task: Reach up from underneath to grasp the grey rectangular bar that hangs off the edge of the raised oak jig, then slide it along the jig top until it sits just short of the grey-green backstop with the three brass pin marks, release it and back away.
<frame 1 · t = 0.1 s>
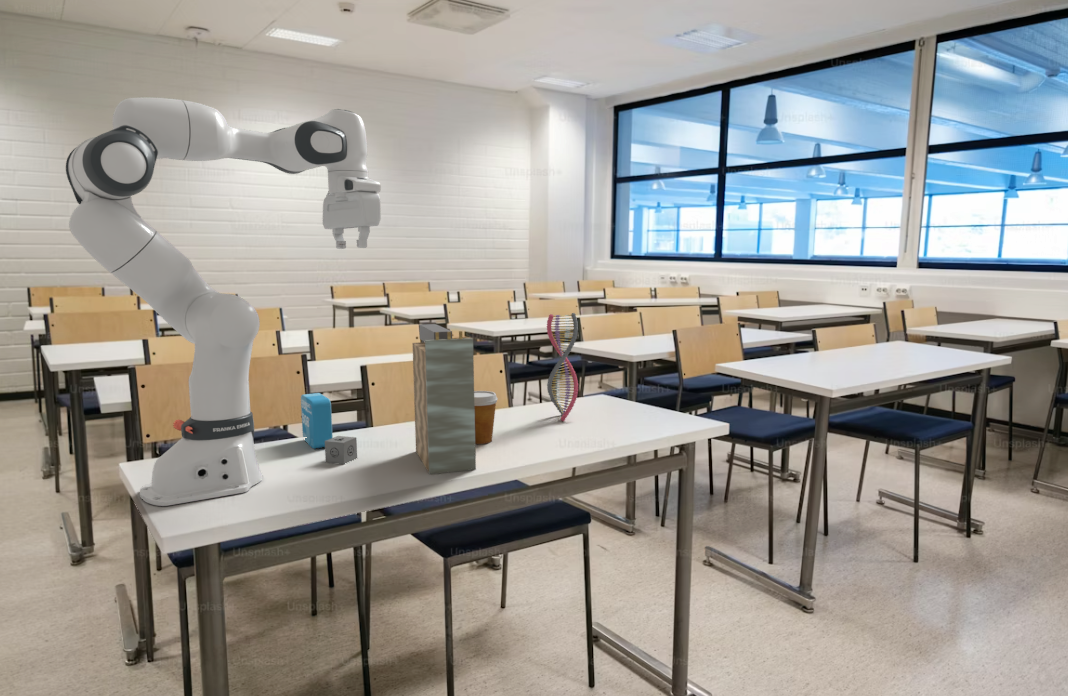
hand: (351, 248, 159), 48 cm above the table, tool pointing down, fingers open, 8 cm apart
disposable coffee cup: (479, 441, 175), on the table
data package: (317, 444, 174), on the table
dice cube: (341, 461, 159), on the table
jig: (443, 459, 159), on the table
grey rectangular bar: (435, 342, 162), point 26 cm above the table, touching jig
dna model: (562, 418, 200), on the table
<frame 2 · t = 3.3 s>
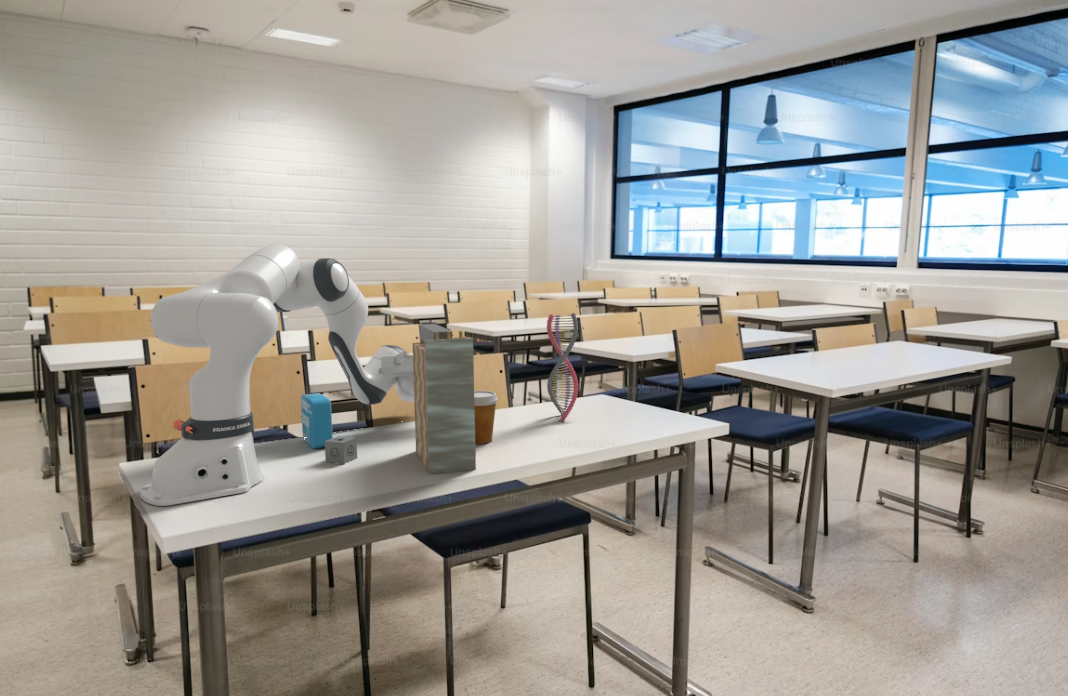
hand: (422, 352, 181), 21 cm above the table, tool pointing upward, fingers open, 8 cm apart
nothing on the table moved.
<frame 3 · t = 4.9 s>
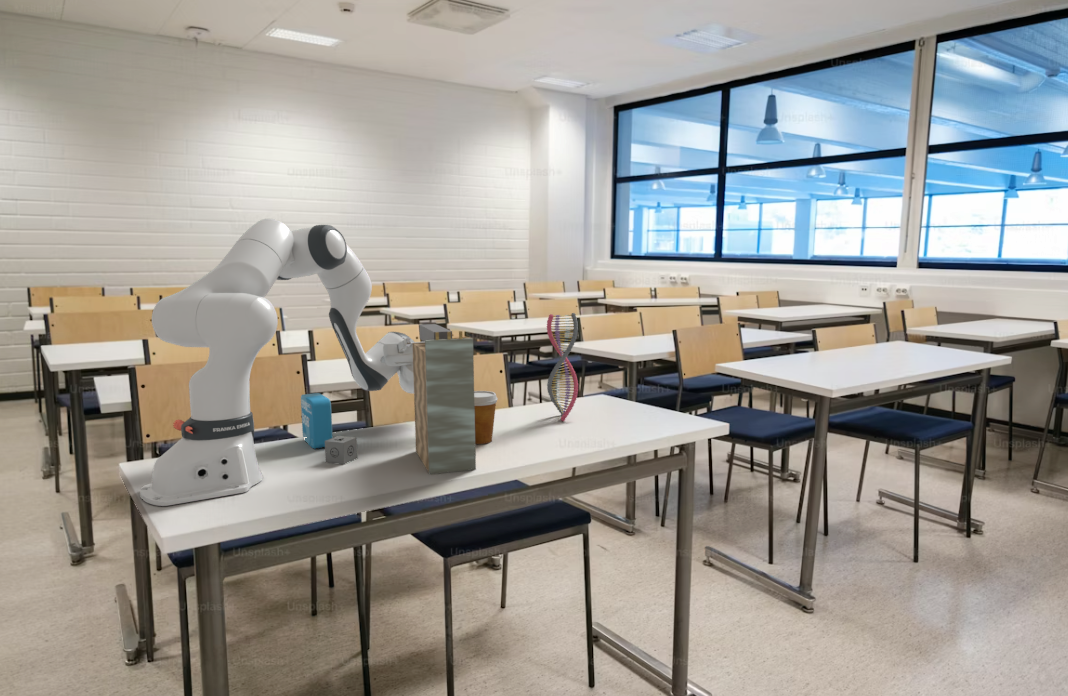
hand: (426, 339, 173), 26 cm above the table, tool pointing upward, fingers open, 8 cm apart
nothing on the table moved.
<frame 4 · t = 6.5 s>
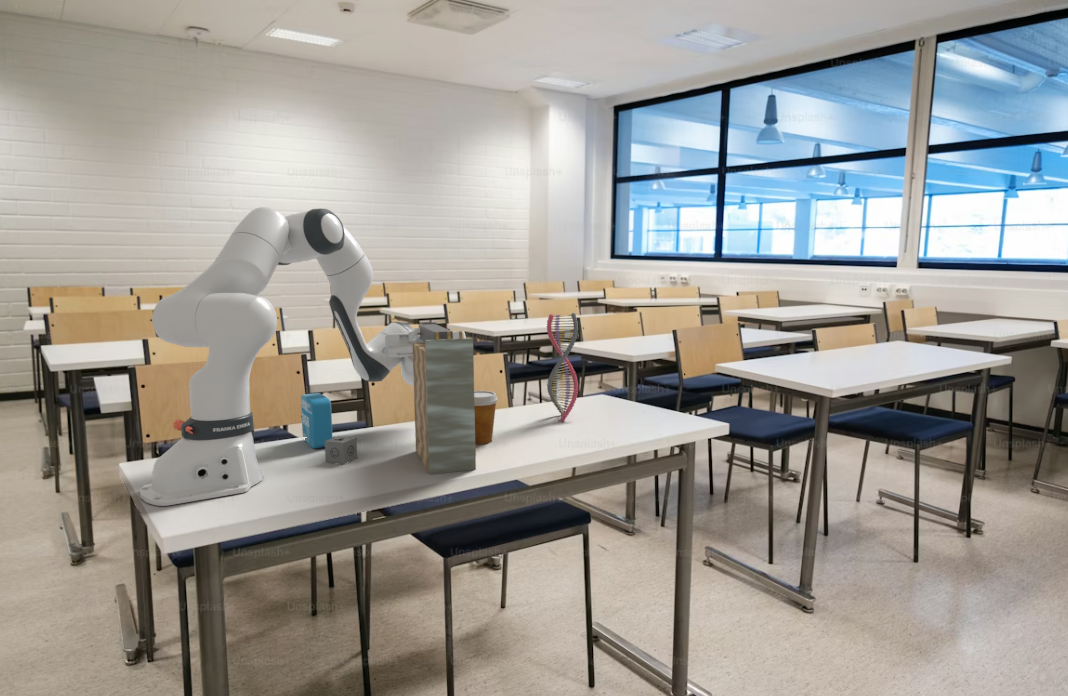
hand: (429, 330, 169), 28 cm above the table, tool pointing upward, fingers closed on grey rectangular bar, 4 cm apart
grey rectangular bar: (435, 342, 162), point 26 cm above the table, touching gripper, jig
everything else where it was.
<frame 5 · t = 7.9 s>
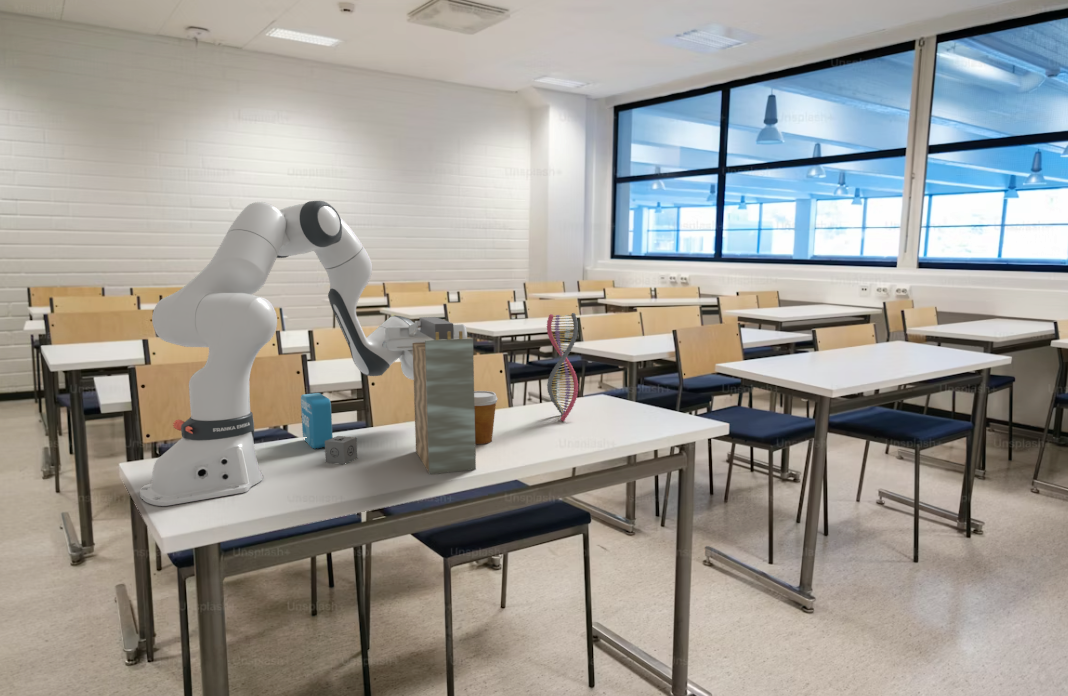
hand: (429, 323, 167), 30 cm above the table, tool pointing upward, fingers closed on grey rectangular bar, 4 cm apart
grey rectangular bar: (435, 335, 161), point 28 cm above the table, touching gripper
everything else where it was.
when the fingers open (29 cm above the table, at t = 9.4 s): grey rectangular bar stays where it is, resting on jig.
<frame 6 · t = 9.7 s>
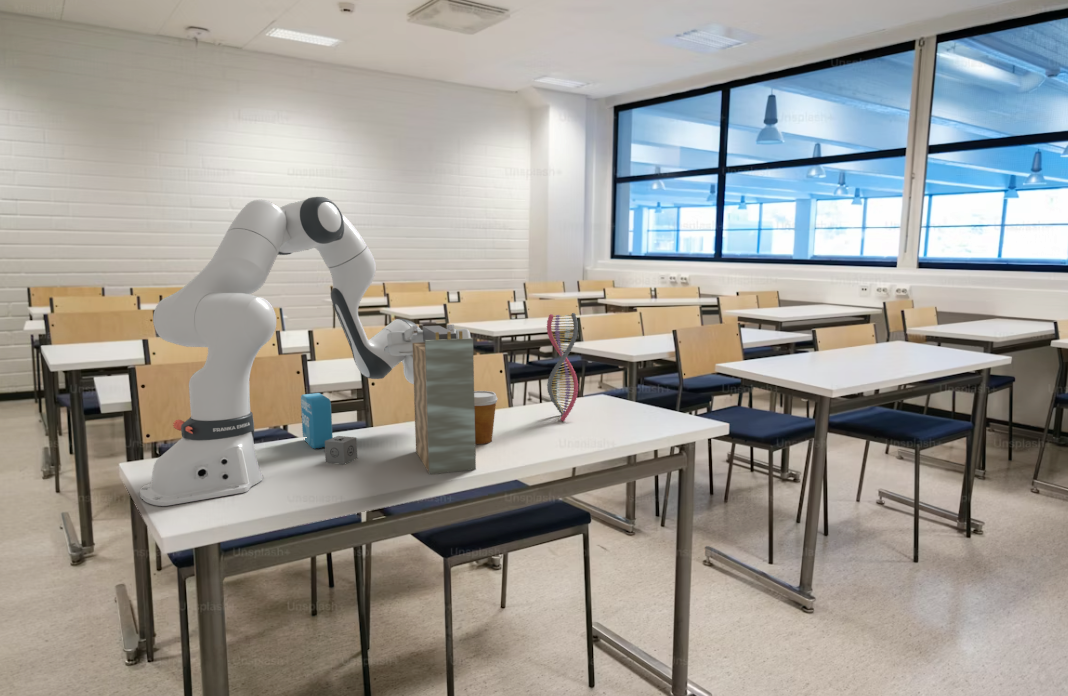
hand: (433, 328, 164), 29 cm above the table, tool pointing upward, fingers open, 7 cm apart
grey rectangular bar: (439, 345, 158), point 26 cm above the table, touching jig
everything else where it was.
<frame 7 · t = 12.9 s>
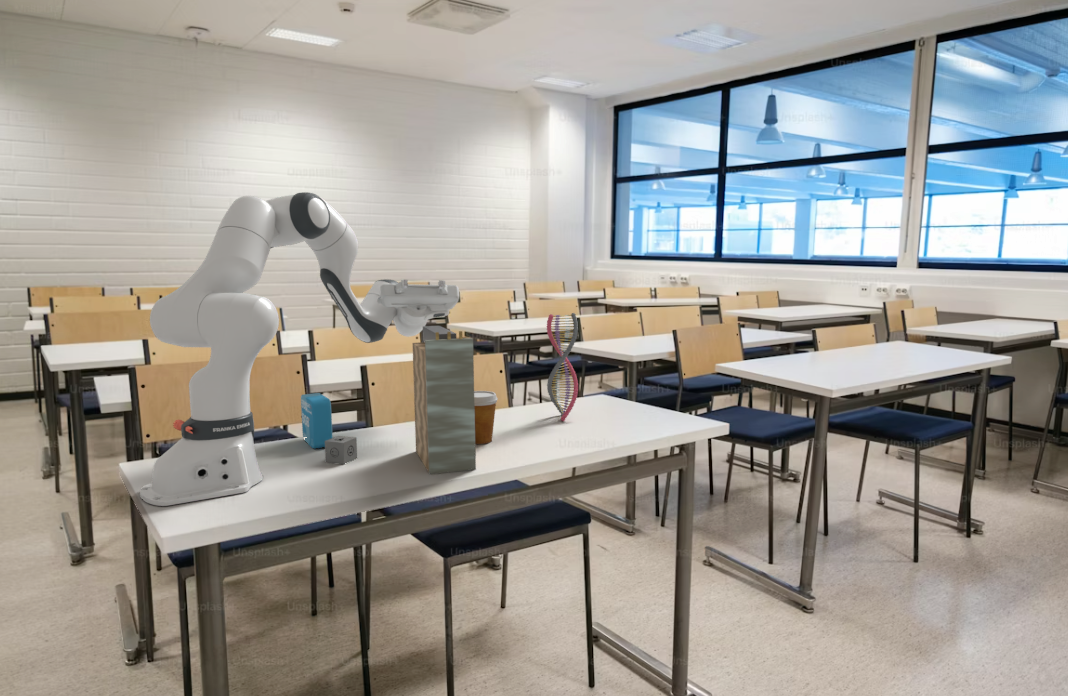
hand: (423, 282, 174), 40 cm above the table, tool pointing upward, fingers open, 8 cm apart
nothing on the table moved.
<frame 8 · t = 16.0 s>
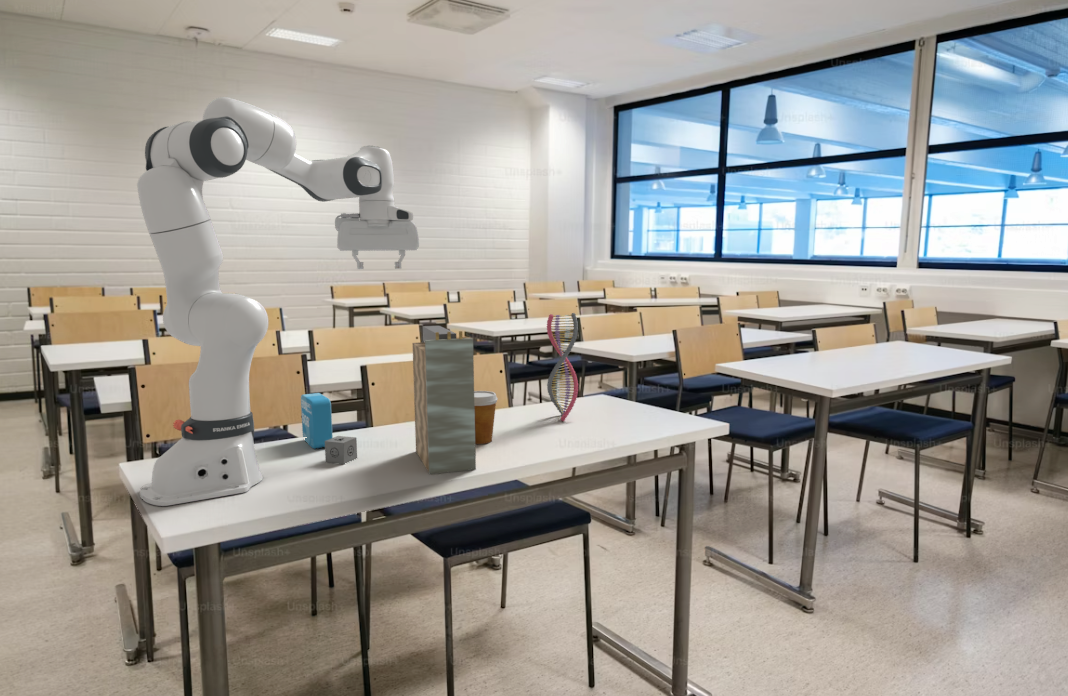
hand: (379, 268, 177), 43 cm above the table, tool pointing down, fingers open, 8 cm apart
nothing on the table moved.
at the end: grey rectangular bar 1.2 cm off-centre on the jig, point 26.0 cm above the jig's base; the gripper is holding nothing; grey rectangular bar moved 4.9 cm from its start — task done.
